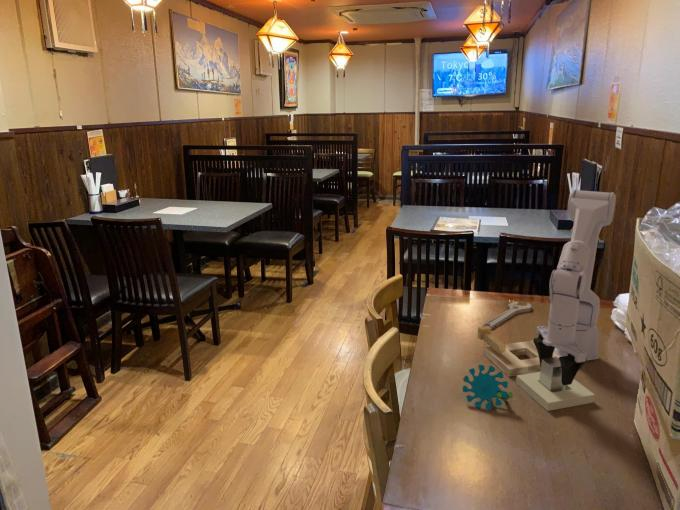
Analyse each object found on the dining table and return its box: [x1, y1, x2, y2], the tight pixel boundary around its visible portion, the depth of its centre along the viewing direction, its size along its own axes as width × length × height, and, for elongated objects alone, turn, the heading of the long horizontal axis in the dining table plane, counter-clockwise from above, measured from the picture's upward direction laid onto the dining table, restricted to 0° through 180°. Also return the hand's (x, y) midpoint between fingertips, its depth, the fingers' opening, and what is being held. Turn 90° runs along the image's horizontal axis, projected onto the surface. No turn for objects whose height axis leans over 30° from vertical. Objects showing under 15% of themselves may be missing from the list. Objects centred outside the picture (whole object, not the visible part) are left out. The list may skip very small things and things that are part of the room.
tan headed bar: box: [477, 326, 506, 353], centre depth 133 cm, size 3×10×3 cm, turn 15°
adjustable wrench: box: [482, 301, 532, 330], centre depth 159 cm, size 25×6×2 cm, turn 130°
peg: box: [539, 357, 566, 393], centre depth 116 cm, size 4×4×8 cm
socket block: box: [483, 339, 560, 377], centre depth 131 cm, size 16×12×2 cm
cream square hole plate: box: [515, 372, 596, 412], centre depth 117 cm, size 12×12×2 cm
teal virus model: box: [462, 364, 514, 410], centre depth 114 cm, size 11×6×10 cm
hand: (555, 375), depth 116 cm, fingers open, 7 cm apart
